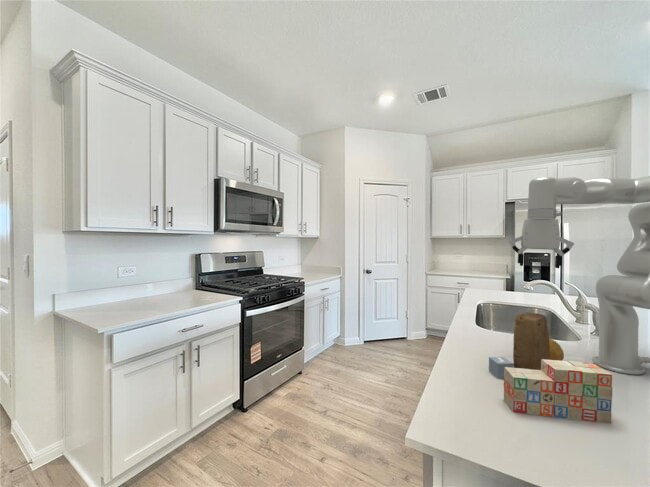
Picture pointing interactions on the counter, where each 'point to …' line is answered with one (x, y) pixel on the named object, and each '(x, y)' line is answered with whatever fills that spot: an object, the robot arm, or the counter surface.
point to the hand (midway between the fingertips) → (538, 266)
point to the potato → (555, 351)
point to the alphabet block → (499, 366)
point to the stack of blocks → (560, 390)
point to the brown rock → (530, 341)
